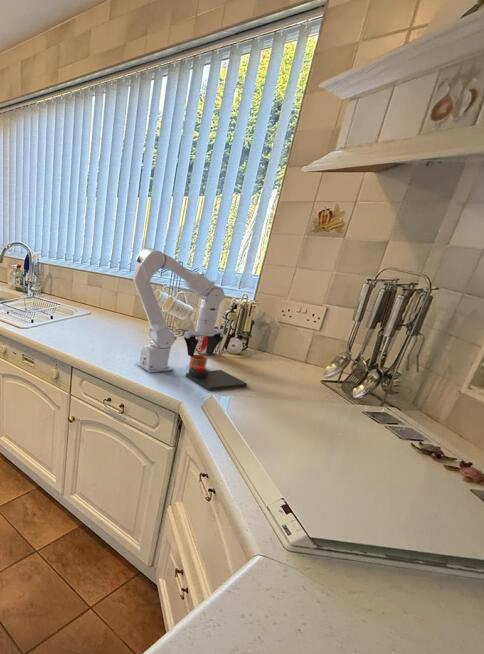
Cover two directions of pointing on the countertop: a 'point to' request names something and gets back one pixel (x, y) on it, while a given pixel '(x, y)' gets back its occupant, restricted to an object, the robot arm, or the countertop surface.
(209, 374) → the scale
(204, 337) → the soda can
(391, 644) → the countertop surface
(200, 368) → the button
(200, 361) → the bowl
